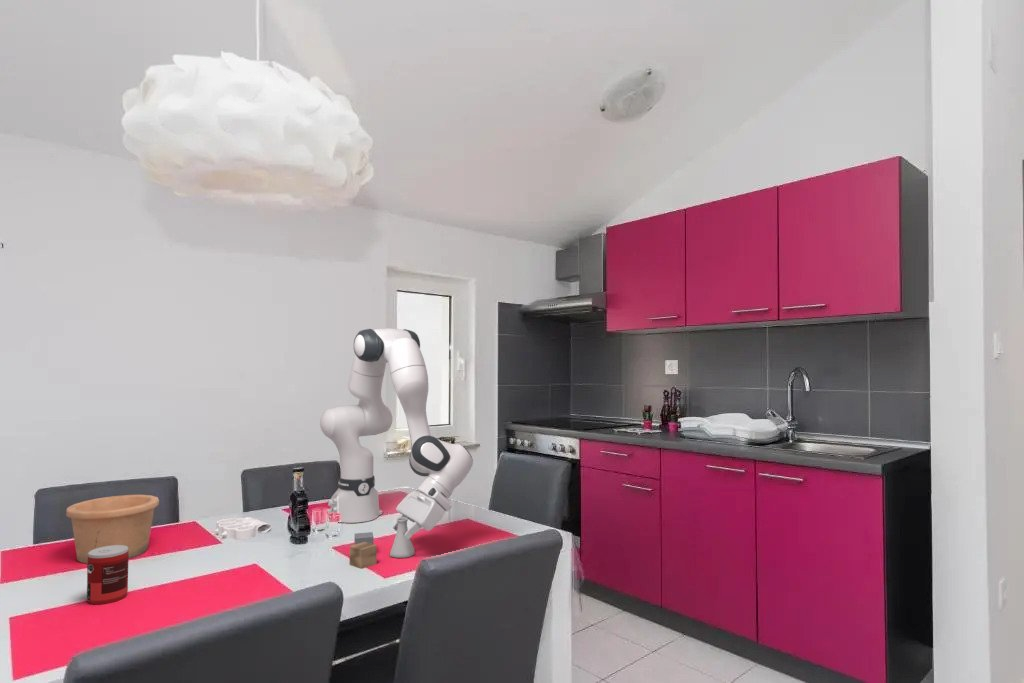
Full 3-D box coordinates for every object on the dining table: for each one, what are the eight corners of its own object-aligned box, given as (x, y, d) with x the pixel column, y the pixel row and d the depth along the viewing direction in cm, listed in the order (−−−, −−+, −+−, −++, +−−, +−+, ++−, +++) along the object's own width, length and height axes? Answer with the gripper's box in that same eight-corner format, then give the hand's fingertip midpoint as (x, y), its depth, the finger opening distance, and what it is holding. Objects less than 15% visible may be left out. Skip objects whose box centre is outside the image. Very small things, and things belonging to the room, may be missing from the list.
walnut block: (349, 565, 159) (349, 546, 159) (364, 560, 163) (364, 541, 163) (361, 569, 156) (361, 549, 156) (376, 564, 159) (376, 545, 160)
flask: (409, 559, 163) (409, 522, 163) (384, 558, 164) (385, 521, 165) (419, 551, 170) (419, 516, 170) (395, 549, 171) (395, 514, 172)
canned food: (99, 592, 140) (100, 545, 141) (134, 591, 141) (135, 544, 141) (78, 605, 133) (79, 555, 133) (116, 604, 133) (117, 554, 134)
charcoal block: (354, 551, 170) (354, 533, 170) (372, 549, 172) (372, 532, 172) (355, 556, 166) (355, 538, 166) (373, 554, 167) (373, 537, 167)
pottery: (175, 548, 174) (175, 498, 174) (95, 572, 154) (96, 516, 154) (128, 538, 183) (128, 491, 183) (47, 560, 163) (48, 508, 163)
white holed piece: (276, 533, 189) (229, 544, 178) (249, 523, 201) (204, 533, 190) (276, 523, 189) (229, 533, 178) (250, 513, 201) (204, 522, 190)
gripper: (411, 481, 180) (380, 518, 175) (439, 493, 163) (406, 535, 157) (424, 494, 182) (394, 531, 177) (454, 508, 165) (421, 549, 159)
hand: (400, 533), depth 167 cm, fingers open, 7 cm apart
